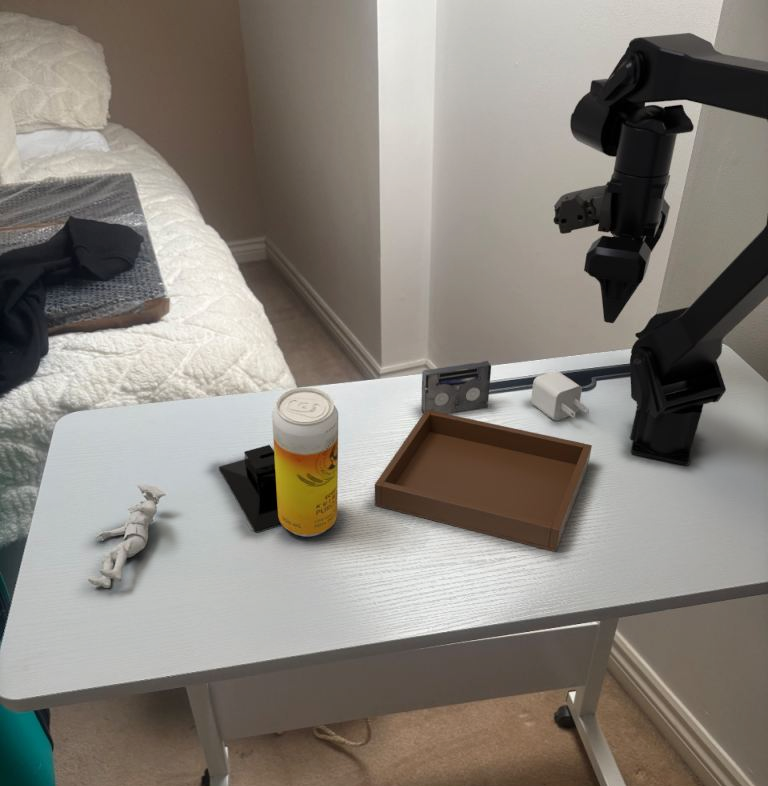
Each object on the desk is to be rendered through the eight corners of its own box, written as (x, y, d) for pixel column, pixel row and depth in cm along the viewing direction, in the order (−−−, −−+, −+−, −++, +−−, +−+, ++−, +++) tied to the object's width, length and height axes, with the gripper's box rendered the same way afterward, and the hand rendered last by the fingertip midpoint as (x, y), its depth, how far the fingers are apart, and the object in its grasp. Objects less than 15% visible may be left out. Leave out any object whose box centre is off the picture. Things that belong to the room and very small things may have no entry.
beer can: (328, 545, 84) (329, 431, 73) (270, 534, 84) (262, 419, 74) (343, 504, 88) (345, 390, 77) (288, 493, 89) (282, 380, 78)
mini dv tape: (483, 401, 104) (486, 359, 101) (487, 407, 103) (491, 365, 99) (421, 411, 103) (422, 368, 99) (424, 417, 102) (426, 374, 98)
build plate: (318, 514, 88) (316, 479, 85) (252, 535, 85) (247, 499, 82) (277, 452, 96) (273, 419, 93) (216, 469, 94) (210, 435, 91)
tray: (588, 465, 94) (592, 444, 92) (555, 552, 83) (559, 530, 81) (425, 429, 100) (426, 409, 98) (374, 505, 88) (374, 484, 87)
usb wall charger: (555, 396, 105) (559, 369, 103) (592, 422, 100) (597, 394, 98) (530, 405, 104) (533, 377, 101) (566, 432, 99) (571, 403, 96)
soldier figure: (72, 591, 80) (102, 488, 87) (118, 608, 83) (144, 507, 89) (109, 566, 75) (138, 458, 82) (157, 584, 78) (181, 479, 84)
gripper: (584, 137, 97) (566, 265, 107) (545, 187, 84) (529, 327, 94) (682, 148, 94) (654, 278, 104) (658, 201, 81) (629, 345, 91)
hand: (616, 305), depth 98 cm, fingers open, 9 cm apart
